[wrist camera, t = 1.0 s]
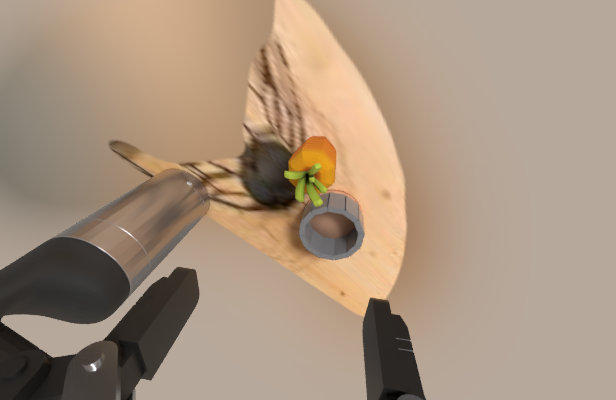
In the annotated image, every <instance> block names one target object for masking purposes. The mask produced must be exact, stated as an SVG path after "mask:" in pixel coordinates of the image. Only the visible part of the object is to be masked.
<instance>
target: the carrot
mask: <svg viewBox="0 0 616 400" xmlns="http://www.w3.org/2000/svg"><path fill="white" fill-rule="evenodd" d="M335 169H336V150H335V148H334V146H333V145H332V144H331V143H330V142H329V140H328V139H327V138H326V137H318V136H313V137H311V138H309V139H308V140H307V141H306V142H304V143H303V144H302V145H301V146H300V147H299V148H298V149H297V150H296V151H295V153H294V154H293V155H292V157H291V158H290V160H289V171H285V172H284V177H285V178H288V179H289V181H290V182H291V183H292V184H293V185H294V186H295V187H296V191H295V199H296V200H297V201H299V202H303V201H304V193H306V194H308V195H309V197H310V199H311V201H312V202H313V204H314V205H315V207H318V206H321V205H322V204H323V201H322V199H321V198H320V196H319V195H318V194H321V193H322V194H323V193H326V192H327V188H328V187H330V186H331V185H332V184H333V183H334V182H335Z"/></svg>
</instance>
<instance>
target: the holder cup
mask: <svg viewBox="0 0 616 400" xmlns="http://www.w3.org/2000/svg"><path fill="white" fill-rule="evenodd" d="M318 195H319V196H320V198H321V199H322V201H323V204H322V205H321V206H318V207H315V205H314V204H313V202H312V201H311V199H310V200H309V201H308V203H307V205H306V207H305V209H304V213H303V216H302V219H301V222H300V230H299V237H300V239H301V241H302V243H303V245H304V247H305V248H306V249H307V250H308V251H310V252H311V253H313V254H314V255H315V256H317V257H318V256H319V258H324V259H330V260H338V259H342V258H347V257H349V256H351V255H352V254H354V253H355V252H356V251H357V250H358V249H359V248H360V247H361V245H362V242H363V238H364V221H363V215H362V210H361V207H360V205H359V203H358V202H357V201H356V199H355V198H354V197H352V196H351V195H349V194H348V193H346V192H343V191H339V190H327V192H326V193H323V194H322V193H321V194H318Z"/></svg>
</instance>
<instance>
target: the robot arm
mask: <svg viewBox="0 0 616 400" xmlns="http://www.w3.org/2000/svg"><path fill="white" fill-rule="evenodd" d="M208 209H209V196H208V193H207V191H206V189H205V187H204V186H203V185H202V183H201V182H200V181H199V180H198V179H197V178H196V177H194V176H193V175H191V174H190V173H188V172H185V171H183V170H179V169H168V170H165V171H162V172H160V173H159V174H157V175H155V176H154V177H152V178H151V179H149V180H147V181H145V182H144V183H142V184H140V185H139V186H137V187H135V188H134V189H132V190H131V191H129V192H127V193H126V194H124V195H122V196H121V197H119V198H117V199H116V200H114V201H113V202H111V203H109V204H107V205H106V206H104V207H102V208H101V209H99V210H98V211H96V212H94V213H93V214H91V215H89V216H88V217H86V218H85V219H83V220H81V221H79V222H78V223H76V224H75V225H73V226H71V227H70V228H68V229H66V230H65V231H63V232H62V233H60V234H58V235H57V236H55V237H53V238H52V239H50V240H48V241H46V242H45V243H43V244H41V245H40V246H38V247H37V248H35V249H33V250H32V251H30V252H29V253H27V254H26V255H24V256H22V257H21V258H19V259H18V260H16V261H15V262H13V263H11V264H10V265H8V266H6V267H5V268H3V269H2V270H0V400H136V399H135V398H136V397H135V387H136V385H137V384H138V382H139V381H140V379H146V380H152V378H153V376H154V375H155V373H156V372H157V370H158V368H159V366H160V365H161V363H162V362H163V360H164V358H165V357H166V355H167V353H168V351H169V350H170V348H171V347H172V345H173V343H174V342H175V340H176V338H177V337H178V335H179V333H180V331H181V330H182V328H183V327H184V325H185V323H186V322H187V320H188V319H189V317H190V315H191V314H192V312H193V310H194V309H195V307H196V305H197V303H198V299H199V287H198V280H197V274H196V271H195V270H194V269H188V268H182V267H177V268H176V269H175V270H174V271H173V272H172V274H171V275H170V276H169V277H168V278H167V277H162V278H161V279H160V280H158V281H157V282H155V283H153V284H152V285H151V286H150V287H149V288H148V290H147V291H146V292H145V293H144V294H143V296H142V297H141V298H140V299H139V300H138V301H137V302H136V305H134V306H133V307H132V308H131V309H130V310H129V311H128V313H127V314H126V315H125V316H124V317H123V318H122V320H121V321H120V322H119V323H118V324H117V326H116V327H115V328H114V329H113V330H112V331H111V332H110V334H109V335H108V336H107V337H106V338H105V339H104V340H103V341H99V342H95V343H93V344H91V345H89V346H87V347H85V348H84V349H82V350H81V351H80V352H78V353H77V354H75V355H68V356H61V357H54V358H53V357H51V356H50V355H48V354H47V353H45V352H44V351H42V350H40V349H39V348H38V347H37V346H35V345H34V344H32V343H30V342H29V341H28V340H26V339H25V338H23V337H22V336H21V335H19V334H18V333H16V332H15V331H13V330H11V329H10V328H9V327H7V326H4V324H3V323H2V322H1V318H2V317H3V316H5V315H13V314H29V315H40V316H45V317H50V318H54V319H58V320H62V321H66V322H70V323H77V324H92V323H97V322H100V321H103V320H105V319H106V318H108V317H109V316H111V315H112V314H113V313H114V312H115V311H116V310H117V309H118V308H119V307H120V306H121V305H122V303H123V302H124V301H125V300H126V299H127V298H128V297H129V296H130V295H131V294H132V293H133V292H134V291H135V290H136V288H137V287H138V286H139V285H140V284H141V283H142V282H143V281H144V279H146V278H147V276H148V275H149V274H150V273H151V272H152V271H153V270H154V269H155V268H156V267H157V265H158V264H159V263H160V262H161V261H162V260H163V259H164V258H165V257H166V256H167V255H168V254H169V253H170V251H172V249H173V248H174V247H175V246H176V245H177V244H178V243H179V242H180V241H181V240H182V239H183V237H185V235H186V234H187V233H188V232H189V231H190V230H191V229H192V228H193V227H194V226H195V225H196V224H197V222H198V221H199V220H200V219H201V218H202V217H203V216H204V215H205V214H206V213H207V211H208ZM363 347H364V361H365V374H366V388H367V400H426V399H425V396H424V393H423V389H422V384H421V380H420V376H419V372H418V369H417V364H416V360H415V356H414V353H413V348H412V344H411V342H410V336H409V331H408V328H407V326H406V324H405V322H404V321H403V319H402V318H401V316H400V315H395V314H391V310H390V305H389V301H388V300H382V299H376V298H370V300H369V303H368V307H367V310H366V314H365V317H364V321H363Z"/></svg>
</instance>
